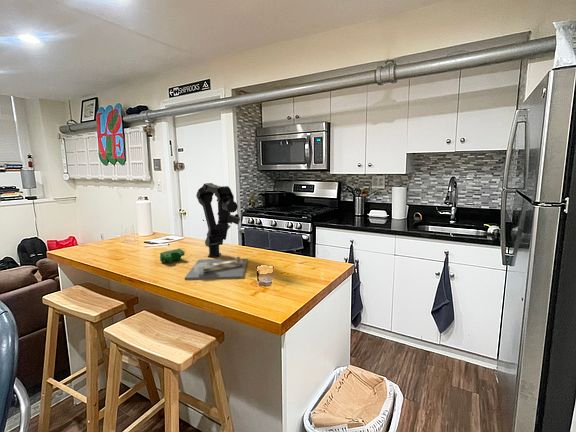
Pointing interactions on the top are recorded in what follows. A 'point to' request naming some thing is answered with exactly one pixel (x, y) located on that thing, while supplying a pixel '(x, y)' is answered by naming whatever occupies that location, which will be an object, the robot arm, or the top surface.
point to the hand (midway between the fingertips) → (224, 239)
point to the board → (219, 271)
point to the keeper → (200, 266)
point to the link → (225, 265)
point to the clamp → (171, 255)
